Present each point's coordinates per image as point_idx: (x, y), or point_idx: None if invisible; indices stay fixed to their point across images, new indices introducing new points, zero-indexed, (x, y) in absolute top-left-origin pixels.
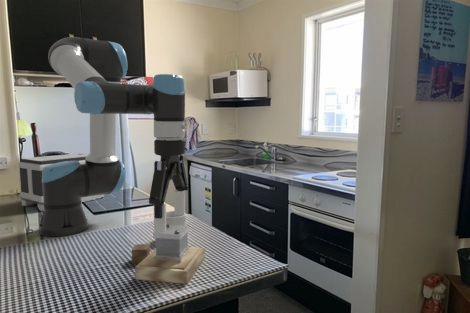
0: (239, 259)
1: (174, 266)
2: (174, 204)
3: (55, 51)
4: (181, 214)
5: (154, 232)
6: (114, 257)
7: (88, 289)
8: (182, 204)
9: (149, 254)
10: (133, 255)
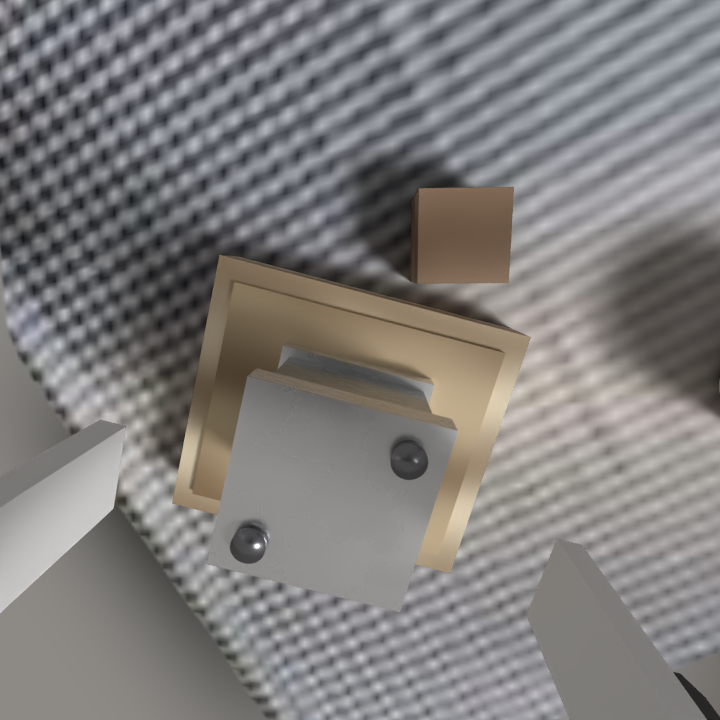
0: (417, 673)
1: (211, 449)
2: (602, 612)
3: None
4: (535, 599)
5: (259, 383)
6: (517, 72)
7: (141, 55)
8: (570, 695)
9: (387, 300)
10: (415, 203)
